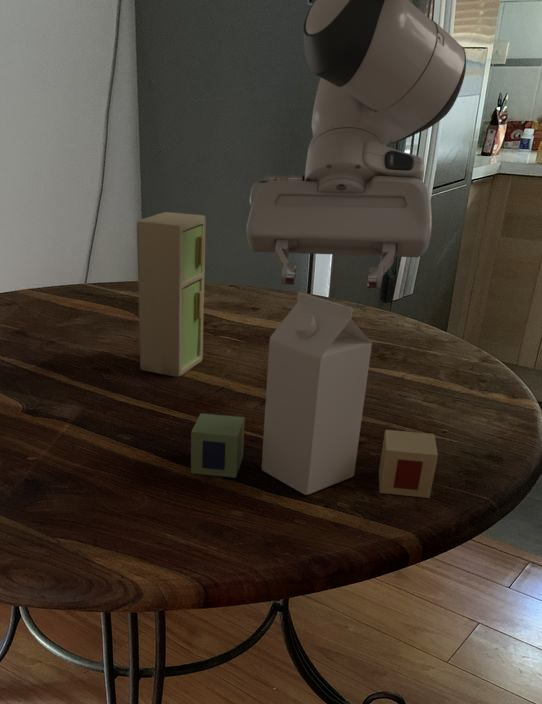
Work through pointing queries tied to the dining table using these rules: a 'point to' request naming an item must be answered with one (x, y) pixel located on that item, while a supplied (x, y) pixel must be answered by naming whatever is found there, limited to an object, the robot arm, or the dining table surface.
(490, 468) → the dining table surface
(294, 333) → the milk carton
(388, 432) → the cream letter block
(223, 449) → the sage letter block
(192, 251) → the toy refrigerator
